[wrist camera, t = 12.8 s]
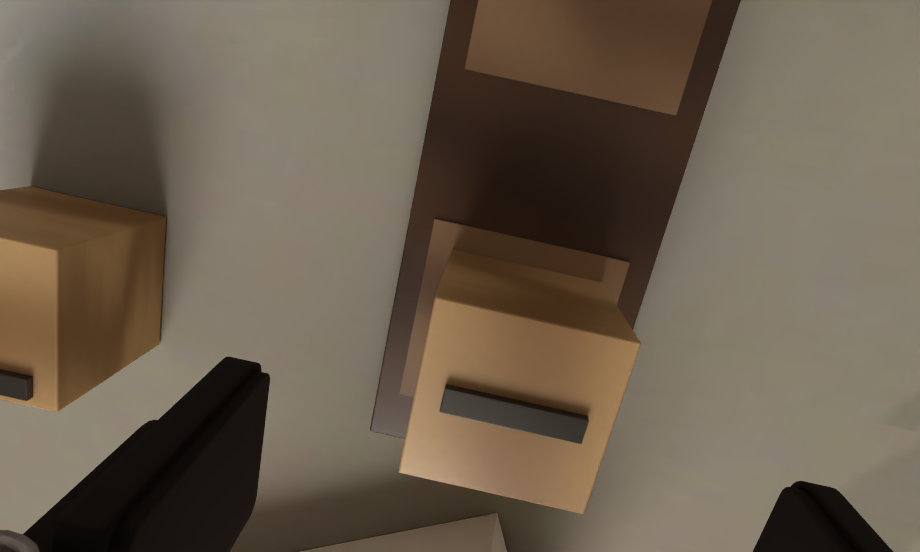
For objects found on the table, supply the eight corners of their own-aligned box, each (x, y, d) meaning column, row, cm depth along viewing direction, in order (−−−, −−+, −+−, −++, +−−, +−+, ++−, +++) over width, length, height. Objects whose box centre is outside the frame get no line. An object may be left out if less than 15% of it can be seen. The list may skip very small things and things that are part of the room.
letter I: (422, 384, 19) (395, 479, 14) (451, 248, 18) (434, 299, 13) (562, 415, 19) (585, 521, 14) (602, 282, 18) (644, 346, 13)
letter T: (28, 185, 19) (-138, 209, 14) (167, 216, 19) (50, 251, 14) (31, 315, 21) (-120, 379, 16) (159, 344, 21) (50, 417, 16)
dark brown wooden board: (501, -248, 15) (501, -277, 14) (788, -186, 15) (811, -209, 14) (375, 416, 21) (368, 432, 20) (580, 462, 21) (584, 481, 20)
